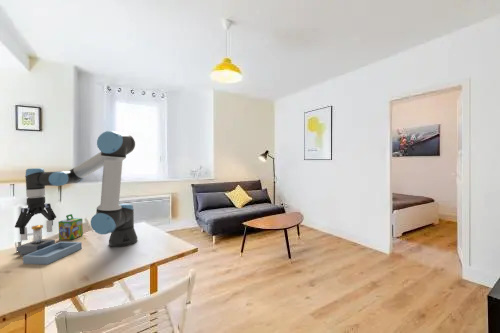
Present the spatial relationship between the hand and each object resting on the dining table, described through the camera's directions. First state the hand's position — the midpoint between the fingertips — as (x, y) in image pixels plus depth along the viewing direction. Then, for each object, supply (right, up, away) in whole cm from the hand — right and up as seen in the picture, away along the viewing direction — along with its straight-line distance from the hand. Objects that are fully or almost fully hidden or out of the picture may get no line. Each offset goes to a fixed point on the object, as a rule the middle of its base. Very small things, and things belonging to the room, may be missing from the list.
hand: (37, 235), depth 129 cm
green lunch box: (+1, -8, +23) cm, 25 cm away
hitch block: (-3, -9, +1) cm, 9 cm away
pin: (0, -9, 0) cm, 9 cm away
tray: (+14, -9, -5) cm, 17 cm away
